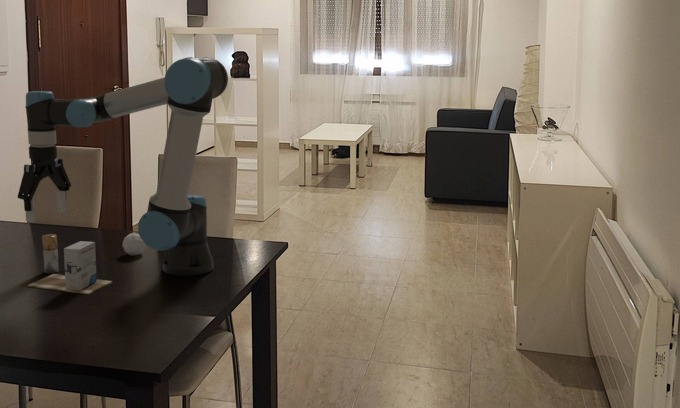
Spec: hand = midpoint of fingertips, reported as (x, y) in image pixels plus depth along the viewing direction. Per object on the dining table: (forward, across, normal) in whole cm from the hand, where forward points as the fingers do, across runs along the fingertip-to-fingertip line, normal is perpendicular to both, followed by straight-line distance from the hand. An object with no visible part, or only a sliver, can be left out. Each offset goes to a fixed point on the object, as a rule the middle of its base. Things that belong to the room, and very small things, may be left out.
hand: (47, 216), depth 217 cm
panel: (+17, +8, +14) cm, 23 cm away
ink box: (+16, +9, +18) cm, 26 cm away
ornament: (+17, -24, +14) cm, 32 cm away
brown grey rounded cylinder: (+17, 0, 0) cm, 17 cm away
